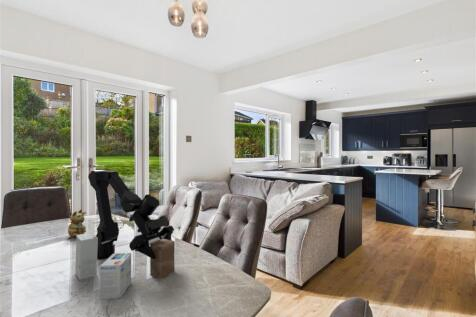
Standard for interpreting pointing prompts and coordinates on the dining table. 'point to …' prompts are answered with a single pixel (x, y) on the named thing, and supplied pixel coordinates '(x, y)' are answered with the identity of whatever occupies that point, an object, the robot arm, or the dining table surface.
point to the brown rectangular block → (162, 258)
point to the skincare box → (86, 256)
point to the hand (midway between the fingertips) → (164, 254)
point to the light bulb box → (115, 275)
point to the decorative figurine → (77, 224)
